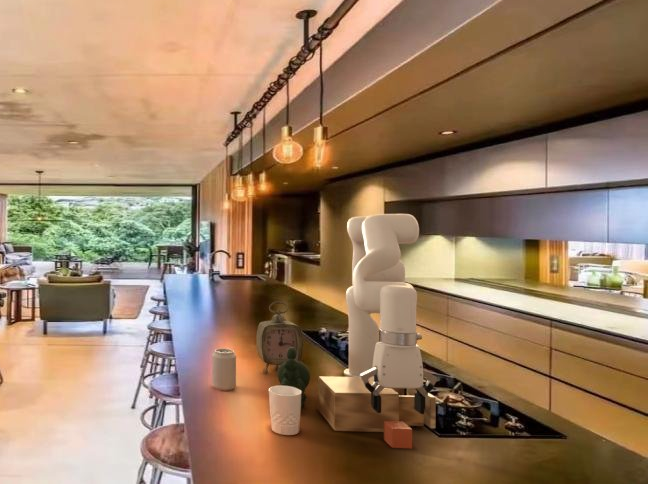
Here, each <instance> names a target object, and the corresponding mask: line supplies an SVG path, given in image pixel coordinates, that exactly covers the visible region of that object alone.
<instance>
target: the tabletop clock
mask: <svg viewBox="0 0 648 484" xmlns="http://www.w3.org/2000/svg"><path fill="white" fill-rule="evenodd" d="M278 304H280V305H284V306H285V307H286V309H285V310H282V311H281V309H276V310H277V311H274V310H272V309H271V307H272V306H273V305H278ZM268 310H269V311H270V313H273V314H274V315H272V317H271V318H270V320H264V321H261V322H259V324H258V326H257V329H256V340H255V341H256V342H255V343H256V351H257V356H258V357H259V358H260V359H261V361H263V363H265V364H266V365H265V368H264V369H263V370H262V371H263V373H264V374H266V375H267V374H268V373H269V370H268V368H269V366H270V365H271V366H273V368H274V370H275V371H278V369H279V367H280V365H281V364H282V363H283V362H285V361H286V360H288V357H287V350H288V349H289V348H290V347H293V348H295V350H296V358H295V359H294V360H298V361H301V360H302V356H303V346H304V343H303V341H304V340H303V333H302V329H301V327H300V326H299V325H297V324H296V323H294V322H291V321H289V320H287V318H286V317H285V315H283V314H285V313H287V312H288V311H289V305H288V304H287V303H286V302H283V301H274V302H272V303H271V304H269V306H268Z"/></svg>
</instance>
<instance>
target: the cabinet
mask: <svg viewBox="0 0 648 484" xmlns="http://www.w3.org/2000/svg"><path fill="white" fill-rule="evenodd" d="M368 381H369V383H370V384H371V385H372V384H373V383H374V381H373V379H372V377H370V378H369V379H368ZM379 395H380V396H381V413H377V412H376V411H375V410H374V409H373V408H372V406H371V392H370V391H369V390H368V389H367V388H366V387H365V386H364V385H363V382H362V381H361V379H360V377H346V376H320V375H319V376H318V412H319V413H320V414H321V416H322V418H324V419H325V421H326V422H327V423H328V424H329V426H330V427H331V428H332V429H333V431H335V432H367V433H368V432H371V433H373V432H374V433H384V421H399V394H398V393H397V392H396V391H394V390H393V389H391V388H384V389H383V390H382V391H381V392H380V393H379Z"/></svg>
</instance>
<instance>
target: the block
mask: <svg viewBox="0 0 648 484" xmlns="http://www.w3.org/2000/svg"><path fill="white" fill-rule="evenodd" d="M383 440H384V441H385V442H386V444H387V445H389V446H390V448H392V449H413V428H411V426H408V425H407V424H405V423H404V422H402V421H384V432H383Z"/></svg>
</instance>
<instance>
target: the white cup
mask: <svg viewBox="0 0 648 484" xmlns="http://www.w3.org/2000/svg"><path fill="white" fill-rule="evenodd" d="M301 393H302V392H301V390H299V389H297V388H295V387H291V386H281V384H280V385H273V386H270V387H269V388H268V398H269V399H268V400H269V417H270V428H271V431H273V432H274V433H275V434H278V435H282V436H294V435H297V434H298V433H299V432H300V422H301V411H302V409H301Z"/></svg>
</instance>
